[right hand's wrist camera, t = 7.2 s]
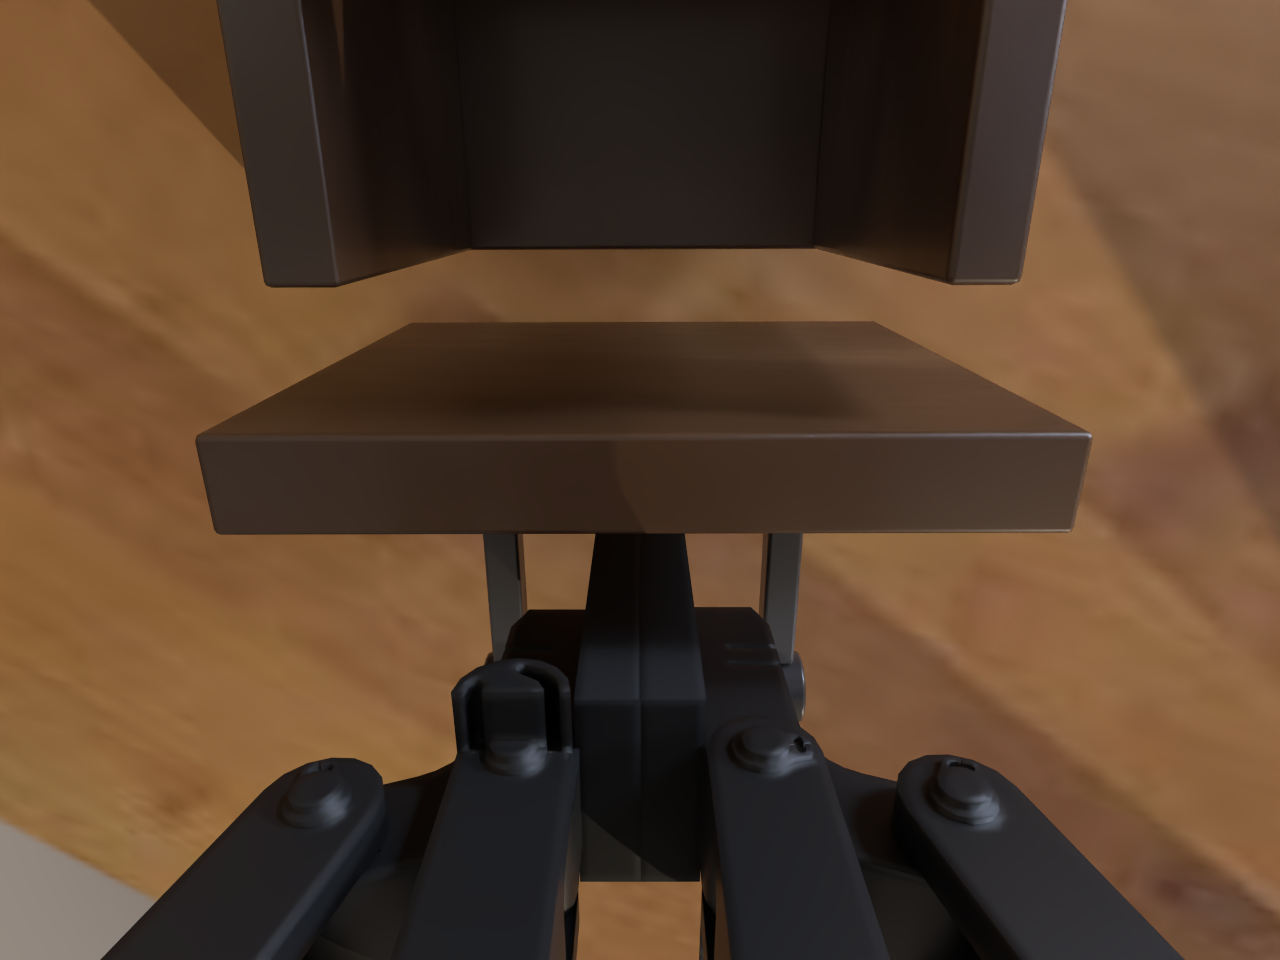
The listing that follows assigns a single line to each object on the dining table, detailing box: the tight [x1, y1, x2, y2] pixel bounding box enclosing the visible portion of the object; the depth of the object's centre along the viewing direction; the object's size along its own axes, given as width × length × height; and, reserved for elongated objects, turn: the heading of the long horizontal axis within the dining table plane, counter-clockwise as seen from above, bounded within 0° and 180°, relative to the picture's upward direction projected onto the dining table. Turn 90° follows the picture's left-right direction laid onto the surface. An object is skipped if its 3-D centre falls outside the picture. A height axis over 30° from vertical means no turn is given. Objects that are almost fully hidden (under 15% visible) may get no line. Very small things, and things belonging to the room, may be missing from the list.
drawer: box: [196, 0, 1092, 722], centre depth 10 cm, size 23×10×8 cm, turn 0°
